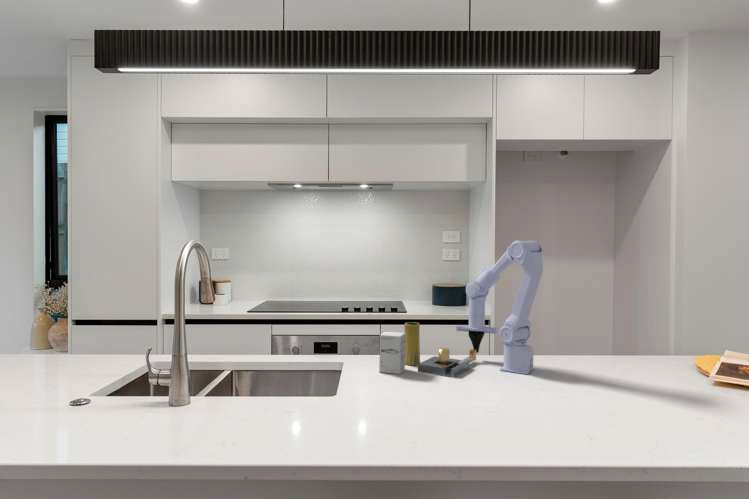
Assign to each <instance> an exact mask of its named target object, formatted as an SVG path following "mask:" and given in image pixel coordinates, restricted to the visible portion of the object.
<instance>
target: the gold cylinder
mask: <svg viewBox="0 0 749 499" xmlns="http://www.w3.org/2000/svg"><path fill="white" fill-rule="evenodd" d="M438 357H439V364H442V365H449V358H450V349H449V348H446V347H445V348H443V347H440V348H439V349H438Z"/></svg>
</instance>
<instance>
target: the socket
mask: <svg viewBox="0 0 749 499" xmlns="http://www.w3.org/2000/svg"><path fill="white" fill-rule="evenodd" d="M461 360H462V359H458V358H457V359H456V358H450V357H449V365H442V364H439V356H438V355H437V356H435V355H434V356H432V357H430V358H427V359H426V360H425V359H424V360H423V361H422V362H421V361H420V363H419V364H418V365H417V372H418V373H425V374H430V375H431V374H433V375H438V376H444V377H449V378H456V377H457V376H459V375H460V374H462V373H464V372H466V371H468V370H469V369H470V363H469V361H465V362H463V363H461V364H460V365H458V366H457V363H458V362H459V361H461Z"/></svg>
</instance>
